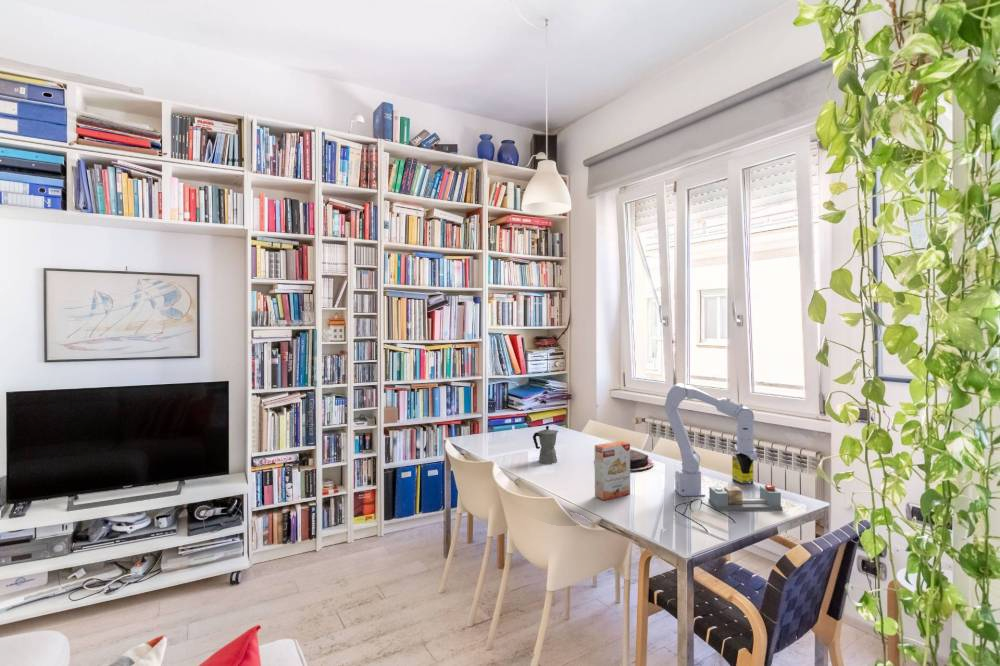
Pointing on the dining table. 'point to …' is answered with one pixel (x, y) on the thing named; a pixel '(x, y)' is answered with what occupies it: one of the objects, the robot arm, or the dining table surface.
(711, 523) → the dining table surface
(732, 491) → the carriage
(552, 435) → the coffeepot
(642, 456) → the chocolate cake
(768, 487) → the gauge plunger
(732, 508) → the rail bench
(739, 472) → the supplement box
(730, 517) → the glasses
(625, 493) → the cracker box
